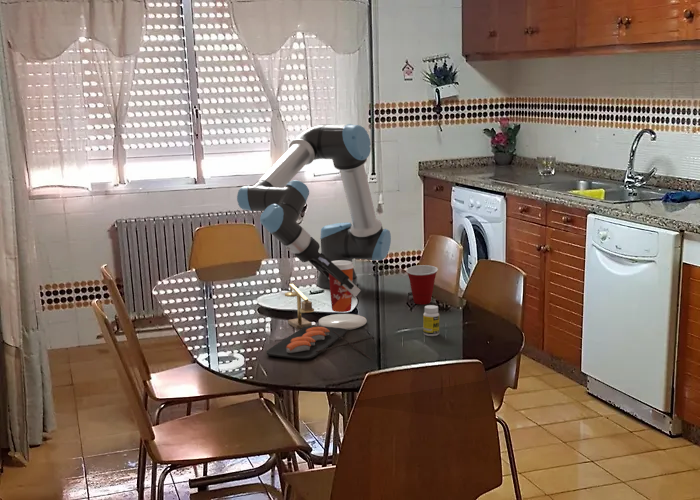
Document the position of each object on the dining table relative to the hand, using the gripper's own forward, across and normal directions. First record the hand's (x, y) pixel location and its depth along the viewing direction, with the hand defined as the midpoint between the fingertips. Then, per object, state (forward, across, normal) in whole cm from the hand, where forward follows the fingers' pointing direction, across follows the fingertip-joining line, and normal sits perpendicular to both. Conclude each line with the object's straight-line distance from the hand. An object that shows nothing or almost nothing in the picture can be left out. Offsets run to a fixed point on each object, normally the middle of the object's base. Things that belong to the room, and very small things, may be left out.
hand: (350, 290), depth 250 cm
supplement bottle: (+18, +23, +3) cm, 29 cm away
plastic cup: (+30, -9, +15) cm, 35 cm away
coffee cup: (+2, 0, -6) cm, 7 cm away
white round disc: (+5, 0, -10) cm, 11 cm away
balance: (-3, -6, -18) cm, 19 cm away
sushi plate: (-3, +19, -19) cm, 27 cm away
